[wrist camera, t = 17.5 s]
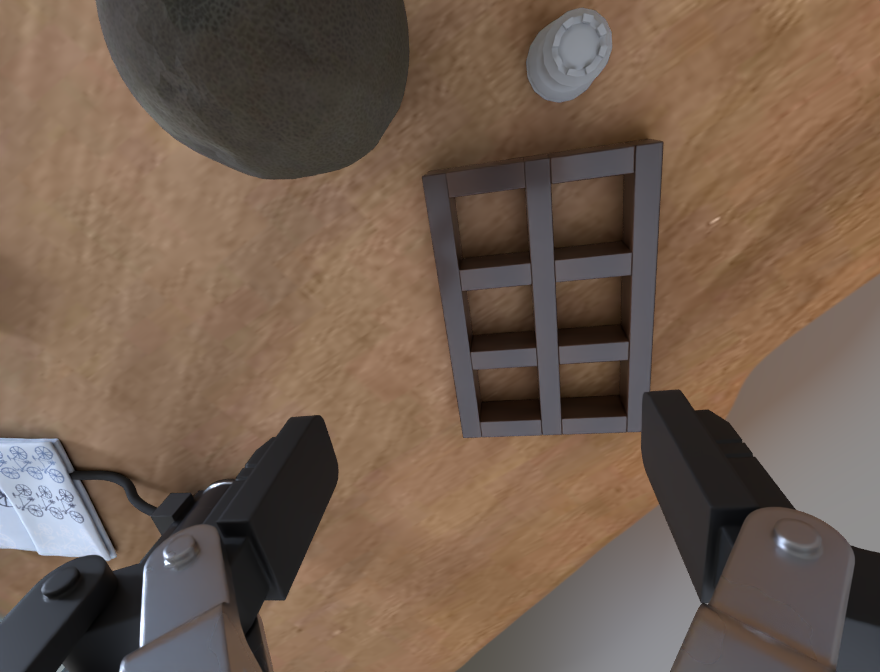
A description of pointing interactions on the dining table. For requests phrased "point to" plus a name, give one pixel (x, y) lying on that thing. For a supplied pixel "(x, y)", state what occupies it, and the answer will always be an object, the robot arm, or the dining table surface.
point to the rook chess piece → (569, 54)
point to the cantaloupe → (264, 76)
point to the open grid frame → (551, 290)
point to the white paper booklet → (46, 503)
